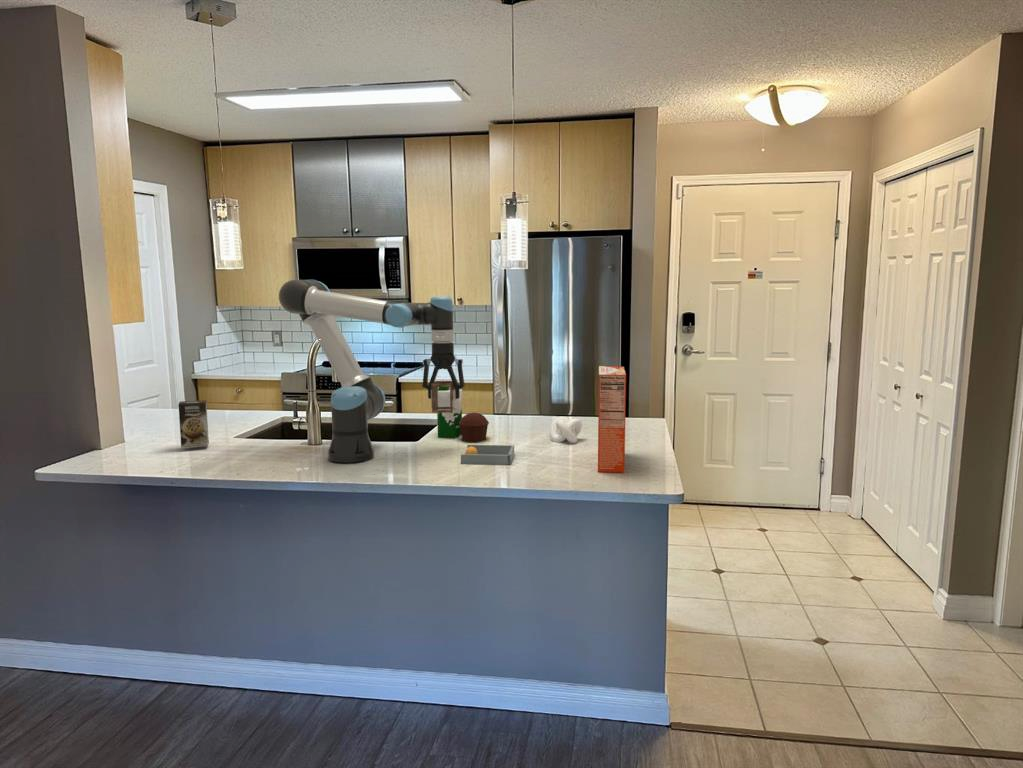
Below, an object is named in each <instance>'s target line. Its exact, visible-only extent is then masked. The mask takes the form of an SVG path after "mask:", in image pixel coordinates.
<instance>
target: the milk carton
mask: <svg viewBox="0 0 1023 768" xmlns="http://www.w3.org/2000/svg"><path fill="white" fill-rule="evenodd" d="M459 394H460V397H459V399H457V408H456V409H453V412H452V413H436V415H437V418H436V419H437V420H436V421H437V423H436V424H437V438H439V439H454V440H455V439H457V438H458V437H460V436H462V434H461V428H460V425H459V421H460V420H461V419H462V417H463V402H462V401H463V389H462V388H460V390H459ZM438 407H450V387H438ZM452 407H453V400H452ZM437 410H450V409H437Z"/></svg>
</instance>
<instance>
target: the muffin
mask: <svg viewBox="0 0 1023 768" xmlns="http://www.w3.org/2000/svg"><path fill="white" fill-rule="evenodd" d="M489 424H490V422H489V420H488V419H487V418H486V416H484V415H483V414H482V413H480V412H468V413H467V414H464V416H462V419H461V420H460V421H459V425H460V428H461V434H462V435H461V439H462V442H466V443H479V442H483V441H485V440H487V433H488V428H489V427H488V426H489Z"/></svg>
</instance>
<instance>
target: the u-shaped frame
mask: <svg viewBox="0 0 1023 768" xmlns="http://www.w3.org/2000/svg"><path fill="white" fill-rule="evenodd" d="M466 446H467V448H468V447H475V448H476V449H477V454H466V453H461V454H460V465H461V464H462V465H495V466H496V465H502V466H503V465H506V466H507V465H508V466H510V465H511V464H512V461H513V459H514V456H515V445H514V444H511V445H509V444H505V445H504V444H467V445H466ZM467 448H466V449H467Z"/></svg>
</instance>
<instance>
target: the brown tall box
mask: <svg viewBox="0 0 1023 768" xmlns="http://www.w3.org/2000/svg"><path fill="white" fill-rule="evenodd" d="M178 416H179V417H178V418H179V420H178V421H179V432H180V433H179V434H180V435H179V437H180V448H181V449H185V448H186V449H187V448H197V447H208V446H209V444H210V443H209V442H210V441H209V424H208V407H207V400H188V401H186V400H185V401H179V402H178Z"/></svg>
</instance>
